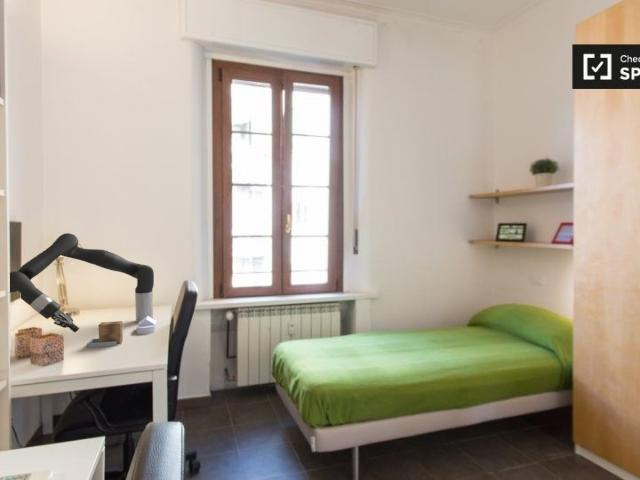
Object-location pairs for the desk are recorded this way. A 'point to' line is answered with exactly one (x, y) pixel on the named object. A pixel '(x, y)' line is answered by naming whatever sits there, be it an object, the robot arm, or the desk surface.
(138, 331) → the wedge on round base
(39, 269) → the robot arm
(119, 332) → the walnut block
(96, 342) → the grey open-top box
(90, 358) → the desk surface
